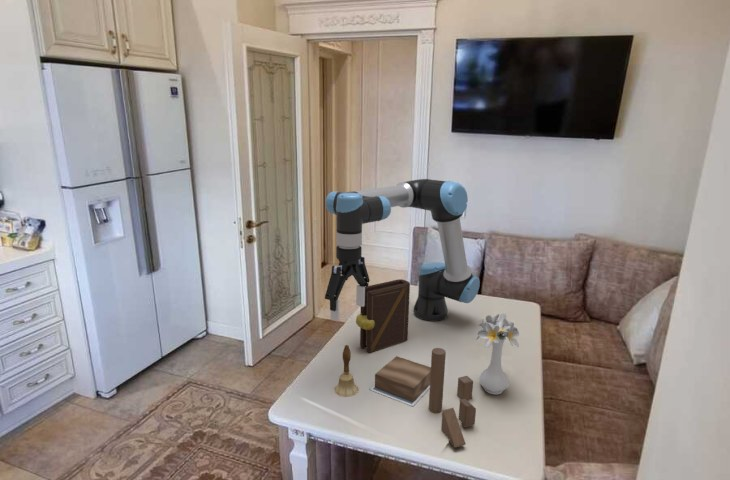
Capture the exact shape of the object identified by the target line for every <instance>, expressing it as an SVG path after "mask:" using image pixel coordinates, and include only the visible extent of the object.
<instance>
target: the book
mask: <svg viewBox="0 0 730 480" xmlns="http://www.w3.org/2000/svg"><path fill="white" fill-rule="evenodd" d="M410 286H411V283H410V281H407V280H406V279H401V278H400V279H395V280H390V281H385V282H380V283H375V284H371V285H370V284H369V285H368V287H367V286H365V306H364V307H362V306H360V313H359V314H358V315H357V316H356V318H355V324H356V325H357V327H359V328H360V329H359V330H360V331H359V338H360V339H359V347H360V349H366V353H367V354H368V355H370V354H373V353H376V352H379V351H382V350H385V349H388V348H390V347H394V346H397V345H400V344H403V343H405V342H408V339H409V337H408V336H409V314H410V310H409V309H410V292H411V291H410V290H411V287H410Z"/></svg>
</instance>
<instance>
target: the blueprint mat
mask: <svg viewBox="0 0 730 480" xmlns="http://www.w3.org/2000/svg"><path fill="white" fill-rule="evenodd" d="M368 390H369V391H371V392H374V393H376V394H378V395H381V396H384V397H386V398H389V399H391V400H394V401H397V402H399V403H402V404H404V405H407V406H409V407H412V408H414V407H415V406H416V405H417V403H418V402H419V401H420V400H422V398H423V397H424V396H425V395H426V394H427V392H429V391H430V385H429V386H428V387H427V388H426V389H425V390H424V391H423V392H422V394H421V395H420V396H419V397H418V398H417V399H416V400H415V401H414V402H411V401H408V400H405V399H403V398H400V397H398V396H395V395H392V394H390V393H387V392H385V391H382V390H379V389H377V388H375V384H373V385H372V386H371V387H370V388H369V389H368Z"/></svg>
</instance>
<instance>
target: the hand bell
mask: <svg viewBox="0 0 730 480" xmlns="http://www.w3.org/2000/svg"><path fill="white" fill-rule="evenodd" d="M342 361H343V373H341V374H340V375H339V378H338V383H337V385H335V387H334V388H333V391H334V393H335V394H336V395H337V396H340V397H342V398H349V397H353V396H356V395H357V394H358V393H359V391H360V388H359V386H357V384H356V383H355V380H354V379H355V378H354V375H353V374H352V373H350V363H351V362H350V361H351V349H350V347H349V345H348V344H345V345H344V348H343V351H342Z"/></svg>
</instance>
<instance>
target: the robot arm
mask: <svg viewBox="0 0 730 480" xmlns="http://www.w3.org/2000/svg"><path fill="white" fill-rule="evenodd" d="M466 190H467V189H466V188H465V187H464V186H463V185H462V184H461V183H459V182H454V181H450V180H447V181H446V180H439V179H438V180H437V179H430V178H429V179H428V178H422V179H421V178H420V179H413V180H407V181H401V182H398V183H397V184H396V185H390V186H382V187H378V188H377V187H376V188H367V189H361V190H353V191H346V192H345V191H344V192H341V191H340V190H338V191H331V192H330V193H328V194H327V196H326V198H325V204H324V205H325V208H326V210H327V212H329V213H330V214H333V215H335V217H336V219H335V220H336V224H335V225H336V230H335V231H336V248H335V250H336V251H335V252H336V253H335V255H336V256H335V257H336V259H337V260H338V261H339V262H338V265H332V266H331V272H330V278H329V281H328V285H327V287H326V292H325V295H324V299H325V300H327V301H328V300H329V311H330V320H332V321H334V322H340V302H341V301H340V299H339V297H340V295H341V292H342V290H343V287H344V285H345V283H346V281H348V279H349V278H350V277H351V276H353V278H354V280H355V282H356V283H357V284H358V285H356V291H355V292H356V296H355V298H356V302H355V305H356V306H359V307H361V306H362V307H364V306H365V287H366V286H367V287H368V286H370V284H369V282H370V281H371V280H370V277H369V272H368V270H367V266H366V263H365V262H366V261H365V257H364V256H362V255H363V254H362V251H363V250H362V245H363V225H364V224H368V223H375V222H381V221H383V220H385V219H387V218H388V217H389V216H390V215H391V211H392V208H395V207H400V208H403V209H404V208H414V209H420V210H424V211H429V212H430V214H431V218H432V220H433V221H434V222H435V223H437V229H438V235H439V239H440V244H441V251H442V256H443V261H444V262H427V263H424V264H422V265H420V267H419V272H418V290H417V291H418V294H417V299H416V301H415V303H414V306H413V315H414V316H415V317H417V318H418V319H421V320H424V321H434V322H435V321H441V320H445V319H446V318H447V317H448V316H449V309H448V305H447V302H446V298H447V299H451V300H452V301H453V300H454V301H457V302H459V303H464V304H469V303H471V302H472V301H474V299H475V298H476V297H477V295H478V292H479V289H480V284H481V282H480V281H481V279H480V278H479V277H477V275H473V270H472V268H471V267H470V266H469V265H468V263H467V261H468V260H467V254H466V250H465V243H464V237H463V230H462V226H461V225H462V223H461V218H462V217H463V215H464V213H465V211H466V209H467V207H468V201H469V200H468V197H469V196H468V194H467V191H466Z"/></svg>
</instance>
